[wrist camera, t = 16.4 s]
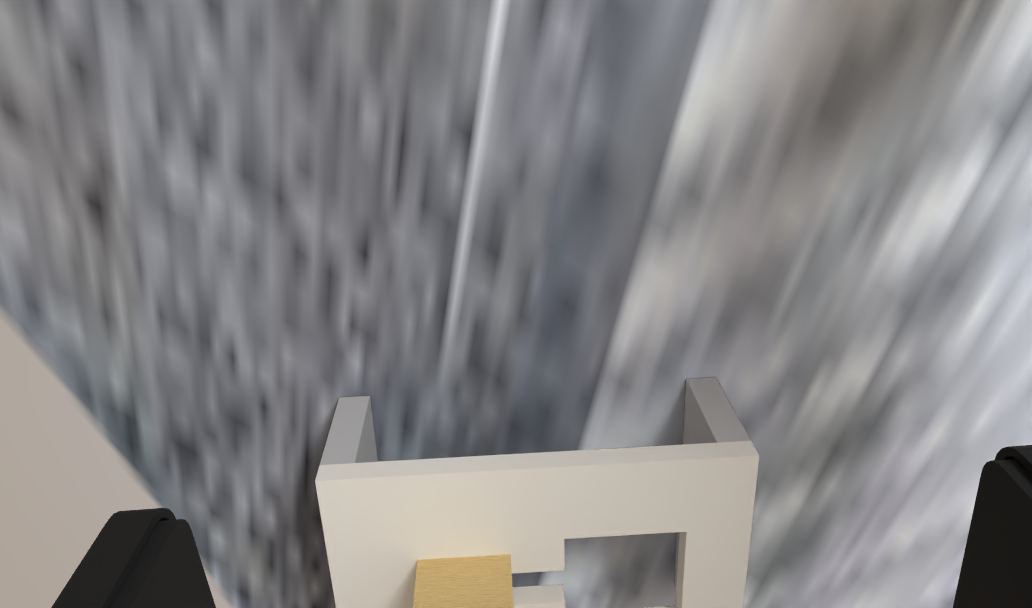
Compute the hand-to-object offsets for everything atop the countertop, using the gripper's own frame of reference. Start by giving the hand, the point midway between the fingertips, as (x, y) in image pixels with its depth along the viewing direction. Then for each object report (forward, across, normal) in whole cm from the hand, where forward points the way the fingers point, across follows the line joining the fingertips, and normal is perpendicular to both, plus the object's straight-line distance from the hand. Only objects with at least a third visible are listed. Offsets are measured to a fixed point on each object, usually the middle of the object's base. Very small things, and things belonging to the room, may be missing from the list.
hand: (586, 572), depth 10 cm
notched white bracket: (+29, +1, +22) cm, 37 cm away
